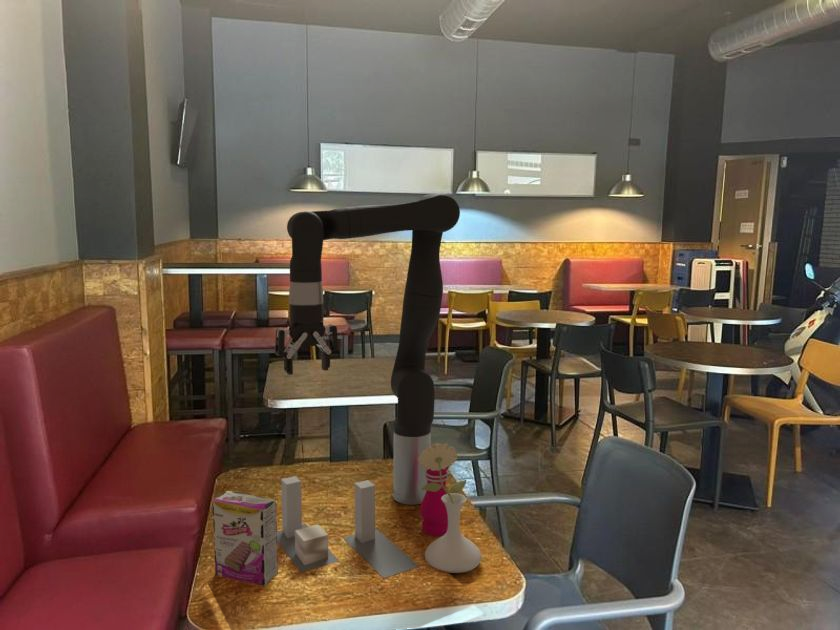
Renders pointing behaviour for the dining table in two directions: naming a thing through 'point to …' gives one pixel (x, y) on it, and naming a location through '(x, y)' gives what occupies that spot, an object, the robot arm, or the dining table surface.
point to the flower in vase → (449, 517)
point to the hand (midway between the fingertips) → (307, 372)
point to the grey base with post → (375, 536)
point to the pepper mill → (435, 505)
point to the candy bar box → (245, 537)
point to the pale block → (311, 544)
